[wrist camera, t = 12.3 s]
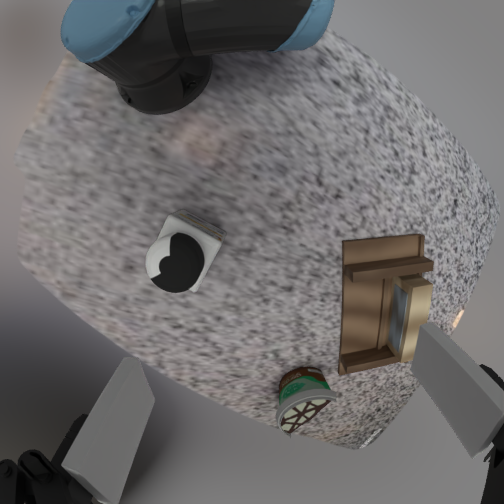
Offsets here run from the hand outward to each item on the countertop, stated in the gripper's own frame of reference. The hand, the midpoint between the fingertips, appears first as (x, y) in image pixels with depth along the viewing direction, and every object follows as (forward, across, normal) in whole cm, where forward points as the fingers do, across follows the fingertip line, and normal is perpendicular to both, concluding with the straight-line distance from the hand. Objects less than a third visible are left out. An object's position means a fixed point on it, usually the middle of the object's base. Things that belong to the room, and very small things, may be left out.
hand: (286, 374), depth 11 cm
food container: (+32, +4, -28) cm, 43 cm away
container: (+32, -10, 0) cm, 33 cm away
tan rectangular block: (+30, +24, -16) cm, 42 cm away
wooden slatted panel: (+31, +20, -15) cm, 40 cm away
